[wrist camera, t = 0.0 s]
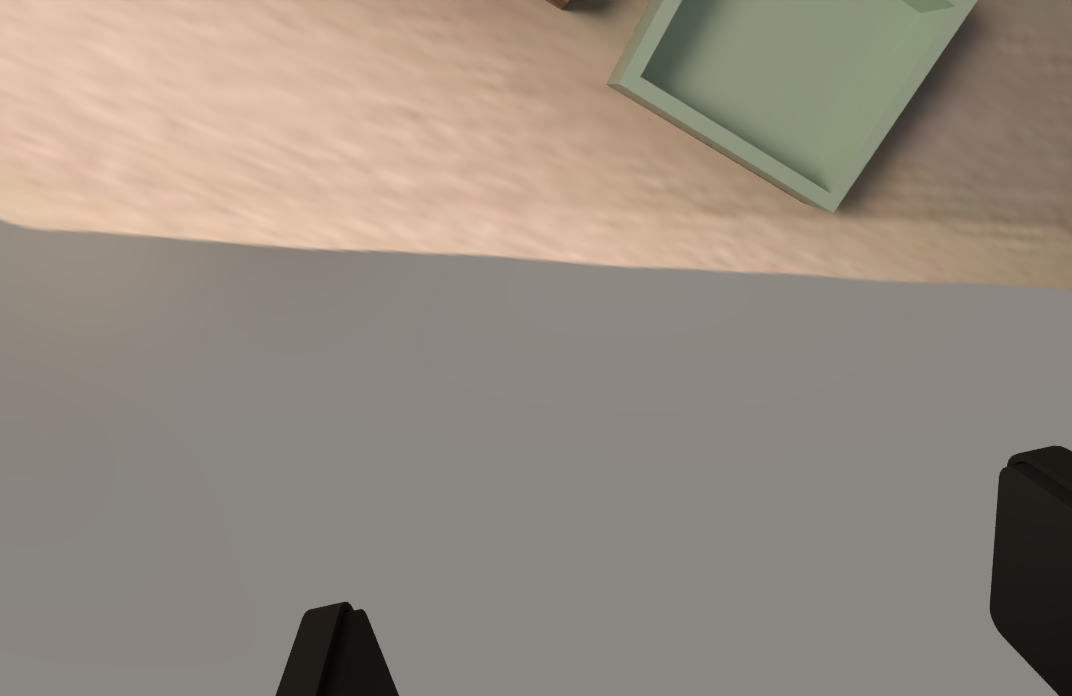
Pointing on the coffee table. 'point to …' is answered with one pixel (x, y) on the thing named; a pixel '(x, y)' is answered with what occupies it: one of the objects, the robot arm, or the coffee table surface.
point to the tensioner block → (558, 3)
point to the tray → (787, 79)
